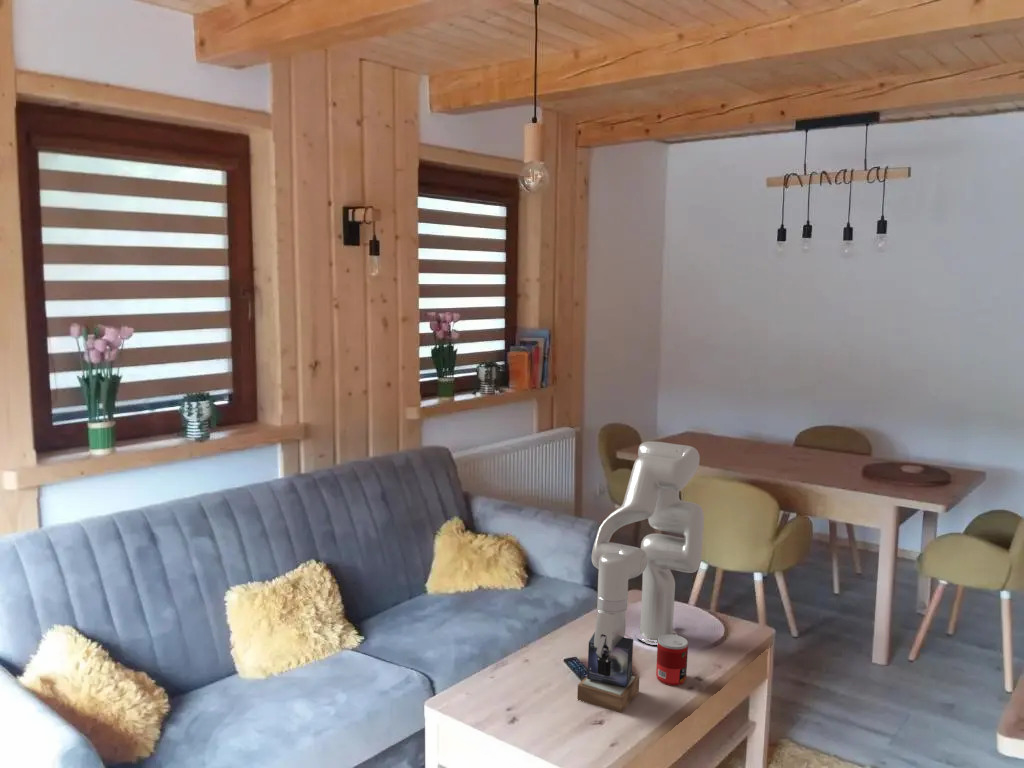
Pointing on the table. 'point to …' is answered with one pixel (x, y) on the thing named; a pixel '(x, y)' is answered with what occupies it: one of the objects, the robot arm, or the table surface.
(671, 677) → the canned food
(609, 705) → the wooden box
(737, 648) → the table surface
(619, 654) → the small box
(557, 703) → the table surface
